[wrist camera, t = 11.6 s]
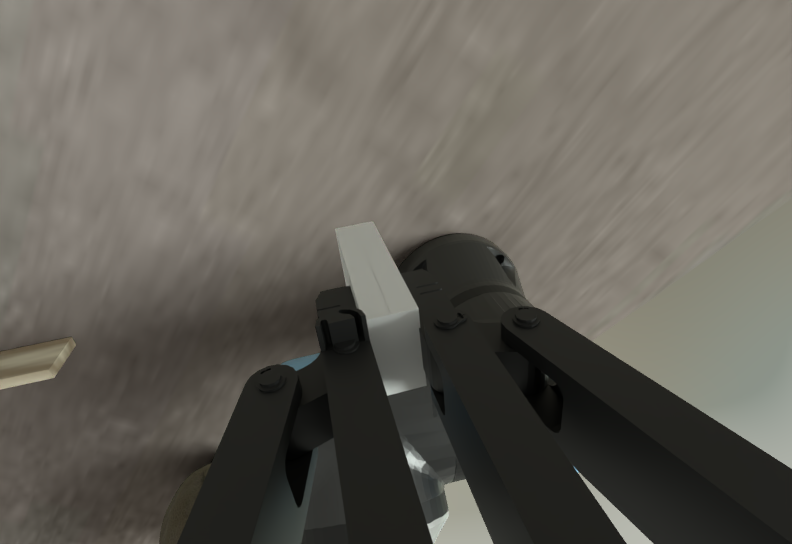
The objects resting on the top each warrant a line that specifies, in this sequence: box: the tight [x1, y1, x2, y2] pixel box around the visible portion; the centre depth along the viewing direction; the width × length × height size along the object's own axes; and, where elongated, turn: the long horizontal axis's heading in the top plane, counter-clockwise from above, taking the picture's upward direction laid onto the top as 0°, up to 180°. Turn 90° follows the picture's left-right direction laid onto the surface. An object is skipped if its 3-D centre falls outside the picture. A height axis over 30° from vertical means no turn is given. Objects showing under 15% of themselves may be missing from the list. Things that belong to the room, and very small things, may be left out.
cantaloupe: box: [159, 463, 211, 544], centre depth 51 cm, size 14×14×15 cm
